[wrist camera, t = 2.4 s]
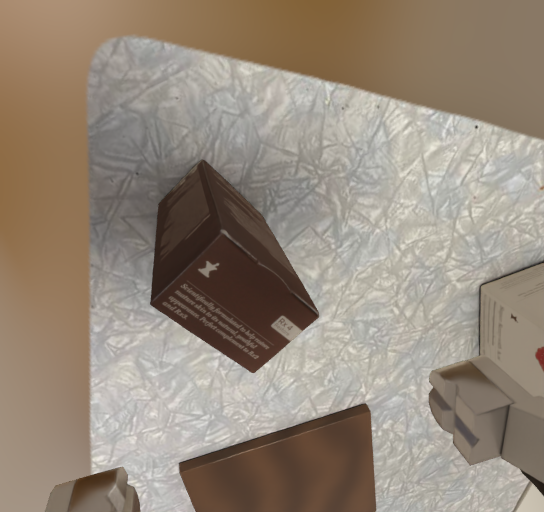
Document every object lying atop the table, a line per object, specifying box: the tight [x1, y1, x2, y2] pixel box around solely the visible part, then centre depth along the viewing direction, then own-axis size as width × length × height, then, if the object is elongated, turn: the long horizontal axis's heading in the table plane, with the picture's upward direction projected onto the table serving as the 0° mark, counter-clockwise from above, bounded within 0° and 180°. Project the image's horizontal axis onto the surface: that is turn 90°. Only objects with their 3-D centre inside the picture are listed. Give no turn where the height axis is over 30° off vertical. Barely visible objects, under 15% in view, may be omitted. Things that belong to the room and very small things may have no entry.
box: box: [150, 160, 319, 373], centre depth 21 cm, size 6×4×12 cm
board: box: [179, 404, 376, 512], centre depth 39 cm, size 18×16×1 cm
